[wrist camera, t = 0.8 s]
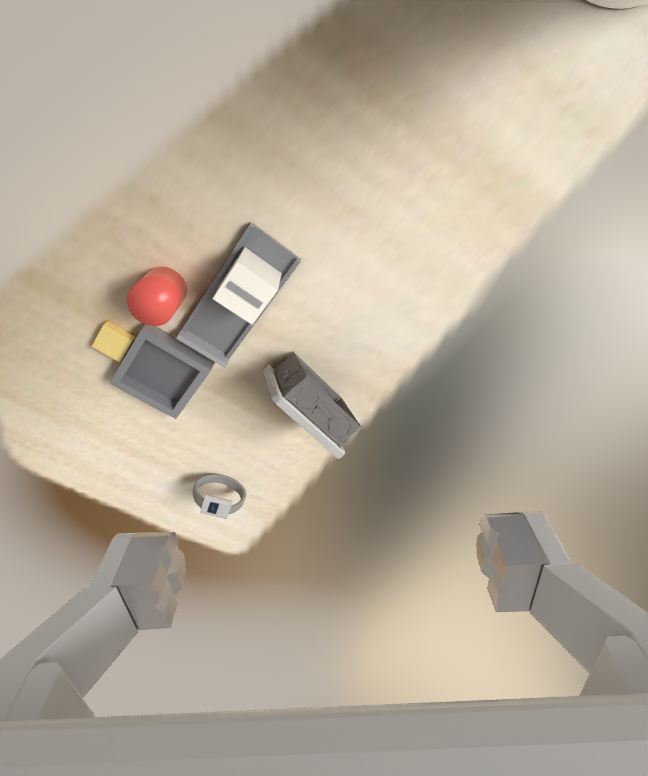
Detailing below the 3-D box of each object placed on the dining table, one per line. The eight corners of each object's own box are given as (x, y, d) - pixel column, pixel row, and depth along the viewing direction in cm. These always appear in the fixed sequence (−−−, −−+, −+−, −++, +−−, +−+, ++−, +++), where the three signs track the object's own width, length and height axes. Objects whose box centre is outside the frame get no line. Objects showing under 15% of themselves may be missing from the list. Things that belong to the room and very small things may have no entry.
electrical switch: (261, 366, 48) (257, 412, 40) (297, 335, 47) (300, 376, 39) (320, 420, 52) (327, 471, 44) (355, 392, 51) (369, 440, 43)
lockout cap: (155, 258, 42) (139, 273, 38) (194, 283, 43) (181, 300, 40) (136, 291, 44) (119, 309, 40) (174, 314, 45) (160, 334, 41)
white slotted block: (244, 246, 41) (236, 262, 37) (281, 273, 42) (277, 290, 38) (222, 281, 43) (212, 299, 39) (258, 305, 44) (252, 325, 40)
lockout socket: (117, 302, 44) (110, 310, 43) (214, 361, 48) (211, 370, 46) (86, 358, 48) (79, 366, 46) (180, 409, 51) (176, 418, 50)
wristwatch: (250, 477, 57) (244, 507, 52) (244, 492, 58) (238, 523, 54) (201, 464, 56) (191, 494, 51) (196, 480, 57) (186, 510, 53)
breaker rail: (251, 222, 41) (247, 227, 39) (300, 258, 42) (299, 265, 41) (181, 329, 46) (176, 338, 44) (227, 358, 48) (224, 367, 46)
